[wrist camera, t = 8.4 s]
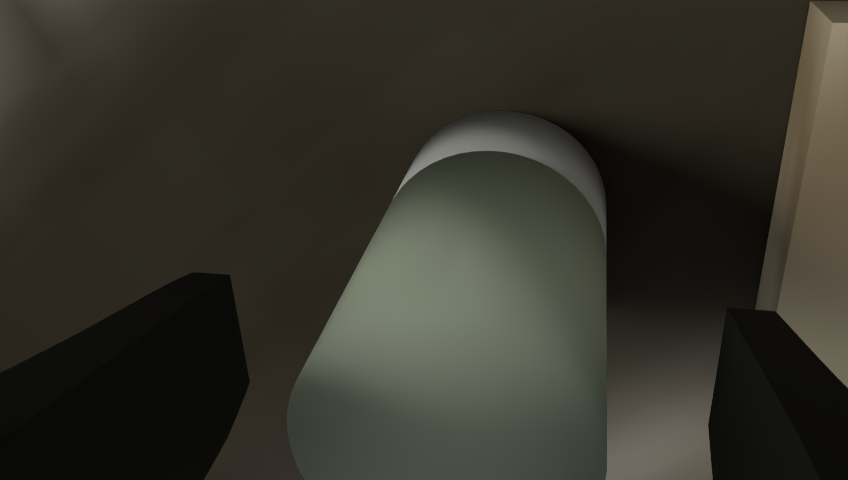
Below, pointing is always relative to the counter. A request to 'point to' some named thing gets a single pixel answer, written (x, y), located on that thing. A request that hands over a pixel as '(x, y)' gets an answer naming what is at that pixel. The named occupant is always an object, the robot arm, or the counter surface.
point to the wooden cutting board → (814, 197)
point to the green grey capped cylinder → (469, 320)
